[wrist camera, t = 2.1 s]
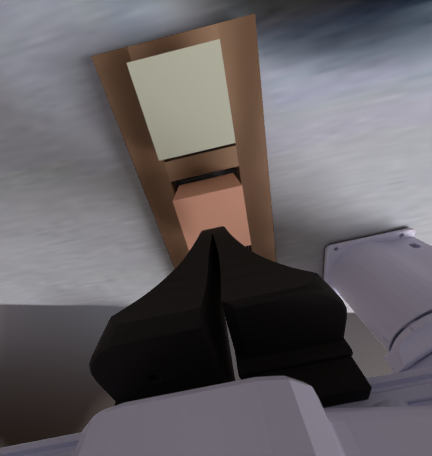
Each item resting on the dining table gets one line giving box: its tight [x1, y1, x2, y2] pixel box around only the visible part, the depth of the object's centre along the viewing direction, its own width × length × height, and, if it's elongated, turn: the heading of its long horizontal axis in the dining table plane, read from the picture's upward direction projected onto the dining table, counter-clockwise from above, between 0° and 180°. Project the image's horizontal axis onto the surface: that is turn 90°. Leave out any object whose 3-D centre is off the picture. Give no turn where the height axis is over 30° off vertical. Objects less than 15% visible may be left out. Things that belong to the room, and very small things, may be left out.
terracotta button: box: [173, 173, 251, 251], centre depth 15 cm, size 4×4×4 cm
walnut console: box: [91, 14, 276, 268], centre depth 17 cm, size 10×22×2 cm, turn 12°
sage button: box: [127, 39, 236, 161], centre depth 12 cm, size 4×4×4 cm
